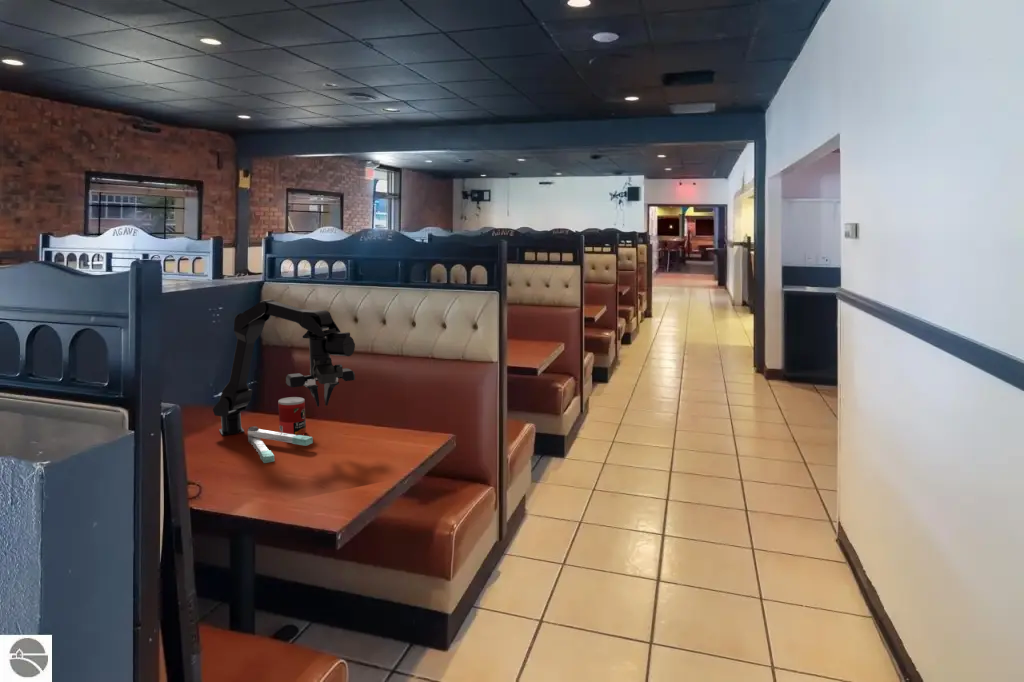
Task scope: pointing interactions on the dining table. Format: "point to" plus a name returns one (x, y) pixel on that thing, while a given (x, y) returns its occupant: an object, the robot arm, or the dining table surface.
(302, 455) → the dining table surface
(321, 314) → the robot arm
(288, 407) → the canned food
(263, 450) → the tongs lower
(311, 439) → the tong arm
